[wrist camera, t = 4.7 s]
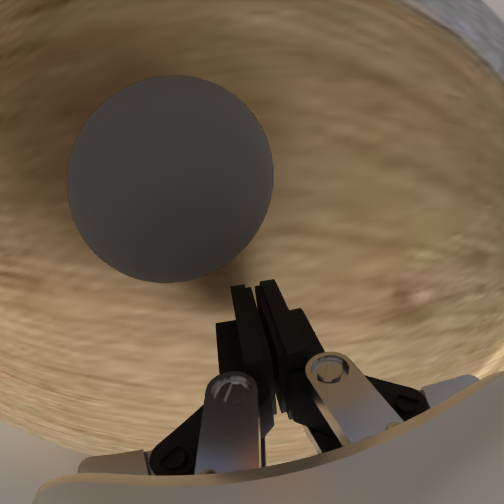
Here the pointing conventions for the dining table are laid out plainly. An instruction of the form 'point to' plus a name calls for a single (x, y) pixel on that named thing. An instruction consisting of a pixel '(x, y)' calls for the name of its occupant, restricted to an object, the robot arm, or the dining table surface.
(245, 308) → the robot arm
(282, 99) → the dining table surface
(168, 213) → the dark gray ball
